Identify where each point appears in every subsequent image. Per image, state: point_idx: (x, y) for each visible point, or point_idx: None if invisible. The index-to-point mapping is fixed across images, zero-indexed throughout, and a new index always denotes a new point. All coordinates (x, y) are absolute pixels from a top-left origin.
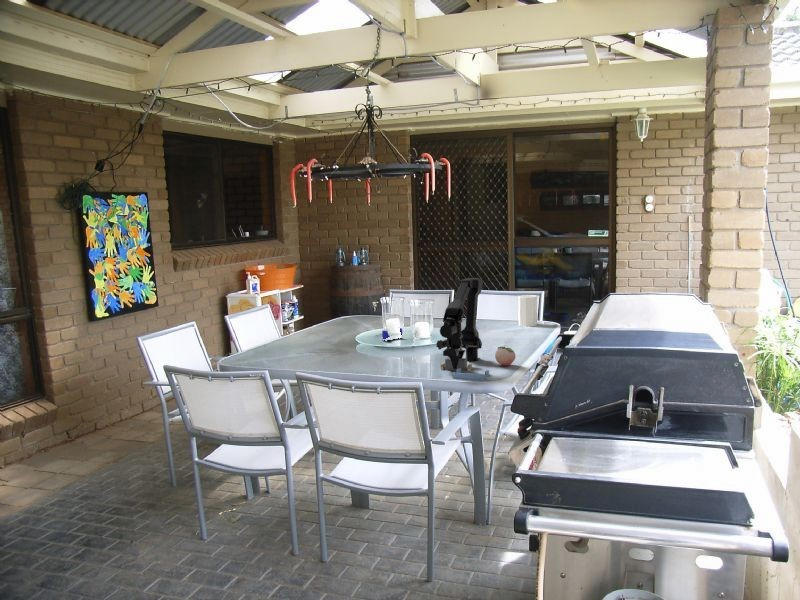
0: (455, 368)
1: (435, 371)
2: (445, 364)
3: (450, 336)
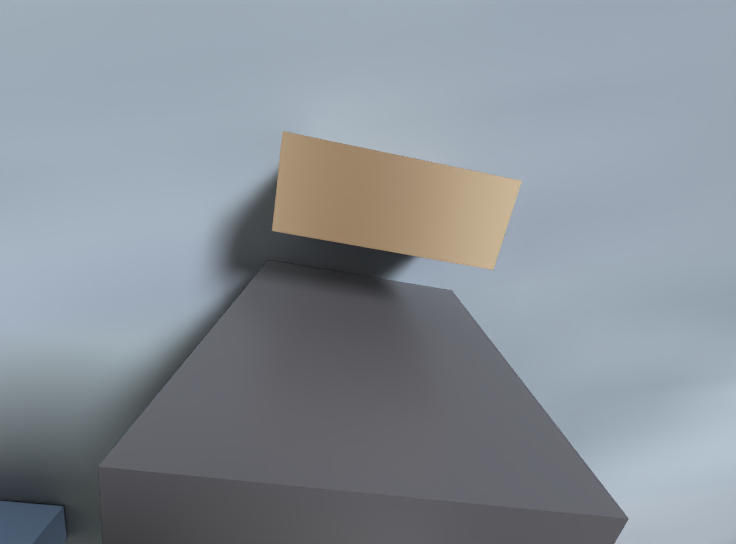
0: None
1: (114, 15)
2: (219, 324)
3: None
